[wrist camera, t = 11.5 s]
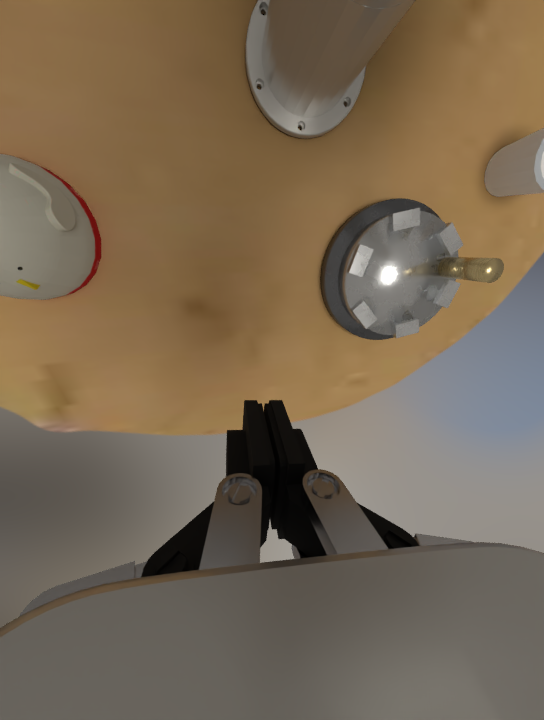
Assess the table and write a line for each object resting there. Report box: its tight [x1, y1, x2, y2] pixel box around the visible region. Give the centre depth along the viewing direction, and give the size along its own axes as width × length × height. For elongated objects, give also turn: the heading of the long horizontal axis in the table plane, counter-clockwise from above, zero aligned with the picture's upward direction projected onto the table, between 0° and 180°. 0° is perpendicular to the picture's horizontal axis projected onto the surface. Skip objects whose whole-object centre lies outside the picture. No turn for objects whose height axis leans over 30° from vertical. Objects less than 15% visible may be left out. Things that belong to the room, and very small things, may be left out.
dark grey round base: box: [320, 199, 439, 340], centre depth 37 cm, size 18×18×2 cm
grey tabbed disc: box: [338, 208, 504, 338], centre depth 32 cm, size 15×15×9 cm
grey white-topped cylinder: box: [484, 128, 544, 197], centre depth 33 cm, size 7×7×7 cm
